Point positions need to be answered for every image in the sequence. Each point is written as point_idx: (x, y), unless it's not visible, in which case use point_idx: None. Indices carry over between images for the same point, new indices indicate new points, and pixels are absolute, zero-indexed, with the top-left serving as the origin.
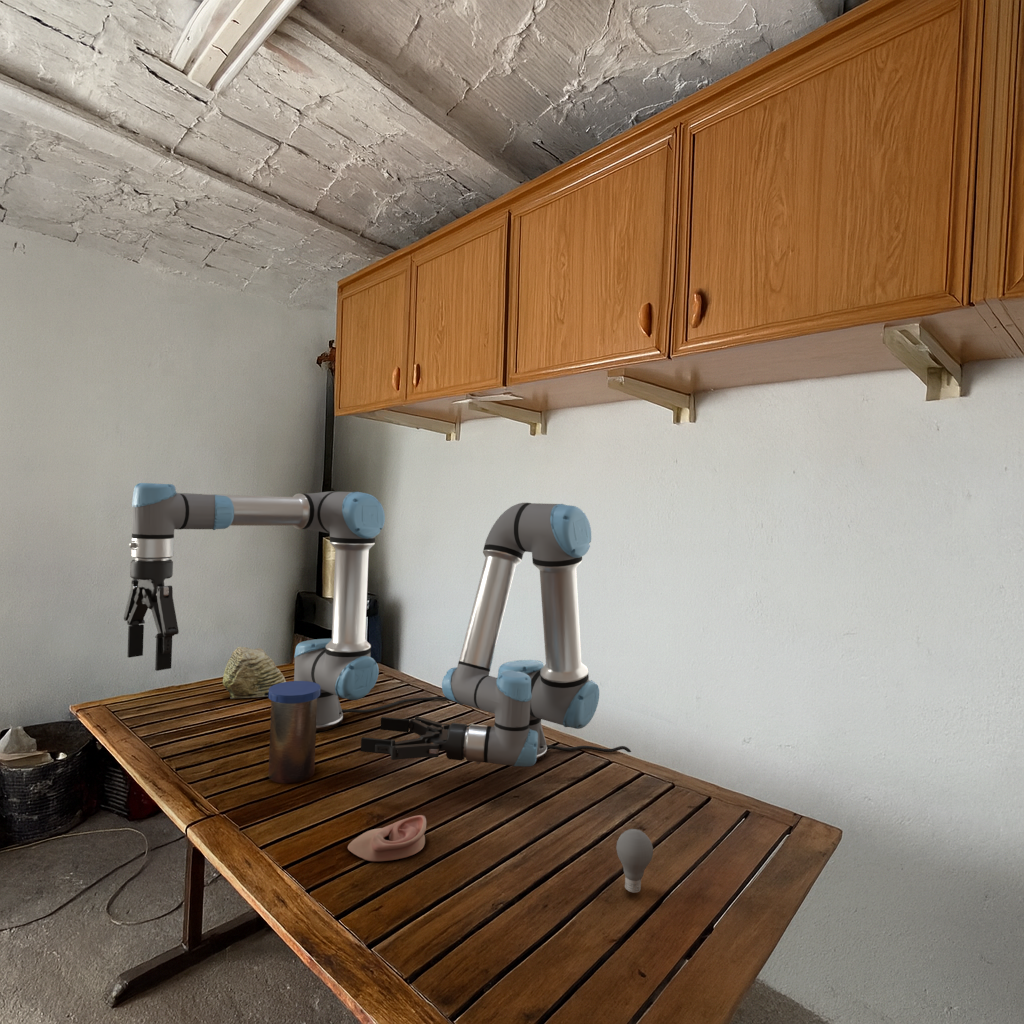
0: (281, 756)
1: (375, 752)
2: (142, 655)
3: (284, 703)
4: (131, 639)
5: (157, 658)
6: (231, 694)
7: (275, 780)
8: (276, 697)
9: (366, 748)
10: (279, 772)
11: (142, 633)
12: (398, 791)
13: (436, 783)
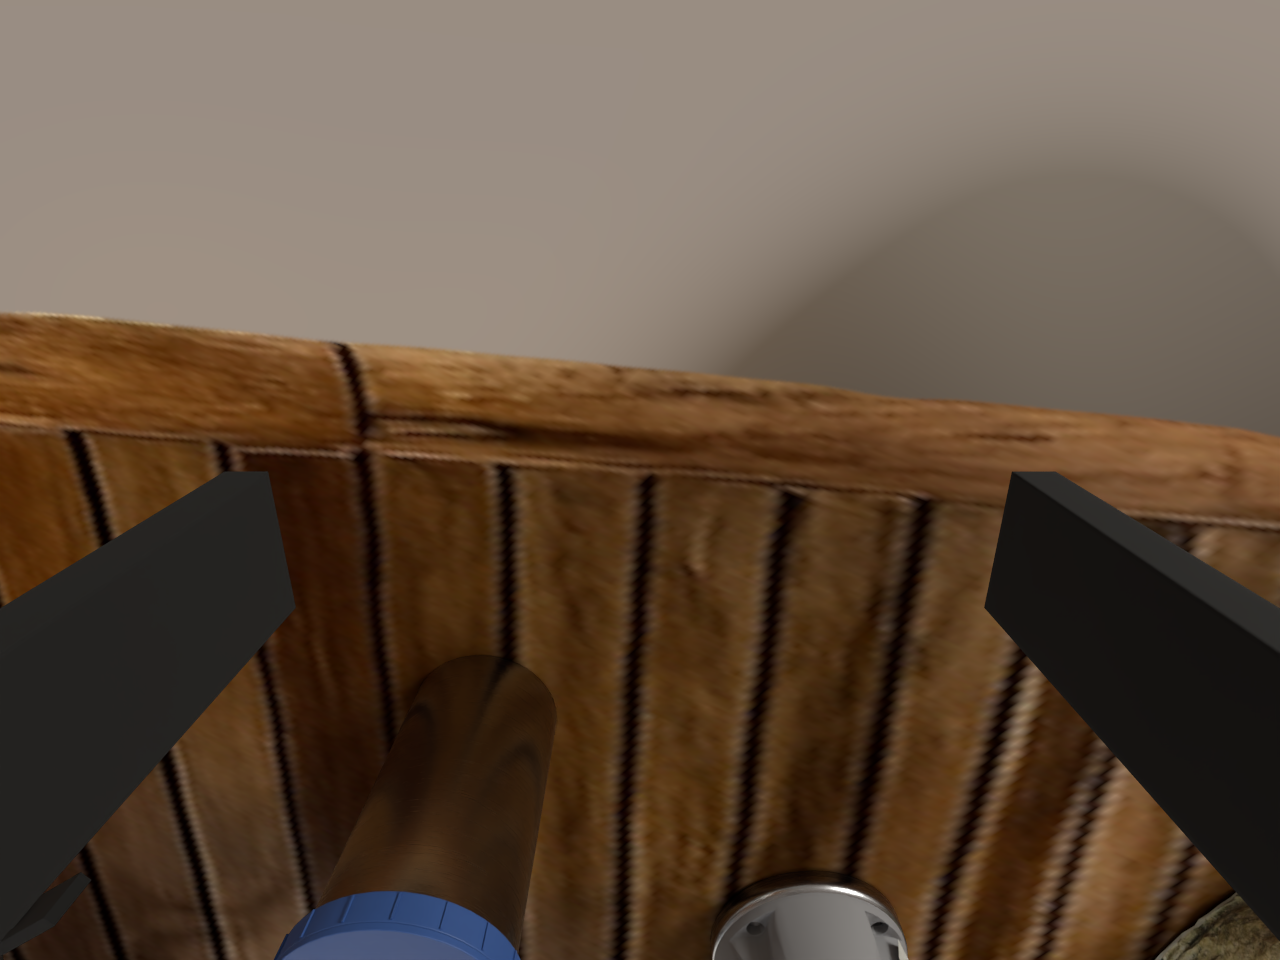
0: (418, 722)
1: (42, 894)
2: (987, 605)
3: None
4: (1156, 604)
5: (127, 534)
6: None
7: (460, 659)
8: (344, 916)
9: (56, 892)
10: (440, 682)
11: (1171, 798)
12: (182, 832)
13: (168, 912)
